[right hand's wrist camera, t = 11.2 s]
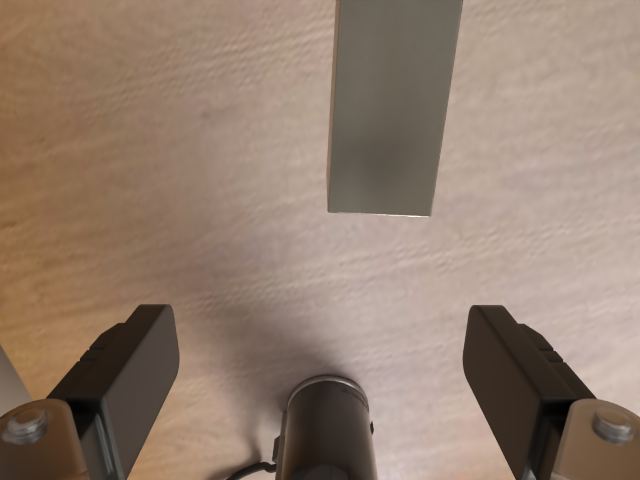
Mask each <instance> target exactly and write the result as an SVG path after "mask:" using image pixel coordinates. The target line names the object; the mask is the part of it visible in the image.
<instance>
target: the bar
mask: <svg viewBox="0 0 640 480" xmlns="http://www.w3.org/2000/svg"><path fill="white" fill-rule="evenodd" d="M462 5H463V0H336V9H335V27H334V46H333V64H332V82H331V100H330V118H329V137H328V155H327V173H326V177H327V204H328V212H329V213H348V214H368V215H388V216H409V217H431V213H432V206H433V199H434V193H435V186H436V179H437V173H438V166H439V159H440V152H441V146H442V139H443V132H444V126H445V119H446V112H447V106H448V99H449V92H450V85H451V79H452V72H453V65H454V59H455V52H456V45H457V38H458V32H459V25H460V18H461V12H462Z"/></svg>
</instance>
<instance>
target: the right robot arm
mask: <svg viewBox="0 0 640 480" xmlns="http://www.w3.org/2000/svg"><path fill="white" fill-rule="evenodd" d="M178 368H179V348H178V341H177V334H176V327H175V320H174V313H173V309H172V307H171V306H170V305H168V304H142V305H139V306H138V307H137V308H136V310H135V311H134V312H133V313H132V315H131V316H130V317H129V318H128V320H127V321H126V322H125V323H118V324H116V325H115V326H113V327H112V328H110V329H108V330H107V331H105V332H104V333H102V334H101V335H100V336H99V337H98V338H97V339H96V341H95V342H94V343H93V344H92V345H91V346H90V349H89V350H87V351H86V352H85V353H84V355H83V356H82V357H81V358H80V361H77V363H76V364H75V365H74V366H73V367H72V368H71V370H70V371H69V372H68V373H67V374H66V375H65V377H64V378H63V379H62V380H61V381H60V382H59V384H58V385H57V386H56V387H55V388H54V389H53V391H52V392H51V393H50V394H49V395H48V396H47V398H46V399H41V400H36V401H32V402H29V403H26V404H23V405H21V406H19V407H16V408H15V409H13V410H11V411H9V412H7V413H6V414H4V415H3V416H1V417H0V480H127V478H128V476H129V474H130V471H131V469H132V467H133V465H134V463H135V461H136V459H137V457H138V455H139V453H140V451H141V449H142V447H143V445H144V443H145V440H146V438H147V436H148V434H149V432H150V430H151V428H152V426H153V424H154V422H155V420H156V418H157V416H158V414H159V412H160V409H161V407H162V405H163V403H164V401H165V399H166V397H167V395H168V393H169V391H170V389H171V387H172V385H173V383H174V381H175V378H176V376H177V373H178ZM463 368H464V373H465V376H466V379H467V381H468V383H469V385H470V387H471V389H472V391H473V393H474V395H475V397H476V399H477V401H478V403H479V405H480V407H481V410H482V412H483V414H484V416H485V418H486V420H487V422H488V424H489V426H490V428H491V430H492V432H493V434H494V436H495V438H496V440H497V442H498V444H499V446H500V448H501V450H502V452H503V454H504V456H505V459H506V461H507V463H508V465H509V467H510V469H511V471H512V473H513V475H514V477H515V479H516V480H640V417H639V416H637V415H636V414H634V413H633V412H631V411H629V410H627V409H625V408H624V407H621V406H619V405H617V404H614V403H611V402H608V401H604V400H599V399H597V398H596V397H595V396H594V395H593V394H592V392H591V391H590V390H589V389H588V388H587V387H586V385H585V384H584V383H583V382H582V381H581V380H580V379H579V377H578V376H577V375H576V374H575V373H574V372H573V370H572V369H571V368H570V367H569V366H568V365H567V364H566V362H563V359H562V358H561V357H560V356H559V354H558V353H557V352H556V351H554V350H553V347H552V346H551V345H550V344H549V343H548V342H547V341H546V339H545V338H544V337H543V336H542V335H541V334H539V333H538V332H536V331H535V330H533V329H531V328H530V327H528V326H527V325H525V324H518V323H517V322H516V321H515V320H514V318H513V317H512V316H511V315H510V313H509V312H508V311H507V310H506V308H505V307H504V306H502V305H473V306H472V307H471V308H470V311H469V316H468V323H467V329H466V336H465V343H464V350H463ZM373 431H374V429H373V423H372V422H371V425H370V419H369V406H368V400H367V397H366V395H365V393H364V392H363V390H362V389H361V388H360V387H359V386H358V385H357V384H355V383H354V382H352V381H350V380H348V379H346V378H343V377H339V376H333V375H324V376H317V377H313V378H311V379H308V380H306V381H304V382H303V383H301V384H300V385H298V386H297V387H296V388H295V389H294V391H293V392H292V394H291V395H290V397H289V400H288V405H287V411H286V412H285V413H283V415H282V423H281V432H280V436H278V437H277V438H276V439H275V441H274V449H273V457H272V461H273V462H275V463H276V464H272V465H270V464H269V463H267V462H261V463H258V464H255V465H252V466H250V467H247V468H245V469H243V470H241V471H239V472H237V473H236V474H234V475H232V476H231V477H229V478H228V479H226V480H239V479H241V478H243V477H245V476H247V475H249V474H252V473H254V472H257V471H261V470H265V471H267V472H269V473H273V472H276V477H275V480H378V474H377V468H376V461H375V454H374V447H373V440H372V434H373Z"/></svg>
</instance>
